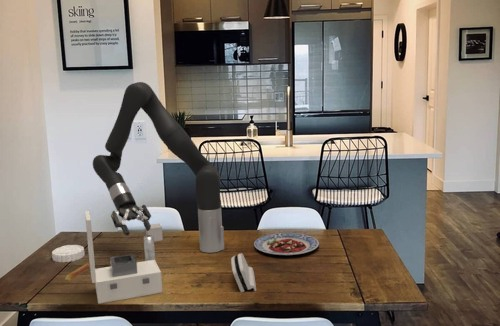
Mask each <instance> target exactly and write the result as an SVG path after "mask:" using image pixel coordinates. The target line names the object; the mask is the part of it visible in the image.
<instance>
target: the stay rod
mask: <svg viewBox="0 0 500 326" xmlns="http://www.w3.org/2000/svg"><path fill="white" fill-rule="evenodd" d="M142 239H143V249H144V250H143V251H144V261H150V260H155V261H156V254H155V241H154V236H153V235H146V234H145V235H144V236H143V237H142Z"/></svg>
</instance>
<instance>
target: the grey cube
mask: <svg viewBox="0 0 500 326" xmlns="http://www.w3.org/2000/svg"><path fill="white" fill-rule="evenodd" d="M150 225H151V227H150V230H149V231H147V230H146V229H145V236H146V235H153V236H154V242H161V241H163V239H164V238H163V227H162V225H161V224H160V223H151V224H150Z"/></svg>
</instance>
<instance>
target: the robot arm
mask: <svg viewBox="0 0 500 326" xmlns="http://www.w3.org/2000/svg"><path fill="white" fill-rule="evenodd" d="M140 110H143V111H144V112H145V114H146V115H147V116H148V118H149V119H150V121H151V122H152V124H153V126H154V127H153V128H154V129H155V131H156V133H157V135H158V137H159V139H160V140H161V141H162V142H163V144H164V145H165V146H166V147H167V149H168V150H170V152H171V153H173V154H174V155H175V157H177V158H178V159H179V160H181V161H182V162H184V163H185V165H187V166H188V168H190V170H191V171H192V172H193V175H194V176H195V183H194V184H195V196H196V198H195V199H196V203H197V204H196V205H197V217H198V233H199V235H198V237H199V238H198V239H199V251H200V252H203V253H210V254H211V253H218V252H220V251H223V250H225V233H224V232H225V231H224V229H225V228H224V226H223V220H222V219H223V218H222V216H223V215H222V200H221V189H220V182H221V174H220V172H219V170H218V169H217V168H216V167H215V165H213V164H212V163H211V162H210V161H209V160H208V159H207V158H206V156H204V155H203V153H201V151H200V150H199V148H198V146H197V145H196V144H195V143H194V141H193V140H192V139H191V137H190V136H189V135H188V133H187V131H185V130H184V128H183V127H182V126H181V125H180V123H178V121H177V120H176V119H175V118H174V117H173V115H172V114H171V113H170V112H169V111H168V110H167V109H166V107H165V106H164V104H163V103H162V101H161V99H159V98H158V96H157V94H156V93H155V91H154V90H153V89H152V87H151V86H150V85H149V84H148V83H146V82H144V81H137V82H134V83H133V82H132V83H130V84H129V85H128V86H127V87H125V90H124V94H123V97H122V101H121V105H120V109H119V112H118V114H117V117H116V120H115V122H114V125H113V127H112V130H111V131H110V133H109V135H108V138H107V139H106V142H105V145H104V147H105V150H106V151H107V152H109V153H110V154H109V155H106V154H98V155H95V157H94V158H93V159H92V167H93V170H94V172H95V174H96V175H97V176H98V177H99V179H101V181H103V183H104V184H105V186H106V188H107V190H108V192H109V196H110V198H111V201H112V202H113V205H114V207H115V209H116V210H113V211H112V212H111V214H110V217H111V220H112V222H113V225H114V227H115V228H117V229H118V228H120V229H121V230H122V233H123V235H125V236H126V237H128V236H130V234H131V232H130V230H129V228H128V225H127V224H126V222H130V221H132V220H133V221H134V220H137V221H140V222H142V223H143V225H144V227H145V231H146V230H147V231H149V230H150V227H151V225H150V219H151V218H152V215H151V212H150V211H149V209H148V207H147V206H146V204H142V206H138V205H137V203H136V202H137V201H136V200H135V198H134V197H133V193H132V192H131V190H130V188H129V186H128V185H127V183H126V181H125V179H124V177H123V175H122V174H121V173H120V172H118V171H119V169H120V168H121V167H120V166H121V164H122V163H121V162H122V158H123V157H122V156H123V150H124V148H125V147H126V144H127V142H128V140H129V138H130V135H131V132H132V126H133V123H134V120H135V118H136V116H137V115H138V113H139V111H140ZM119 217H120V218H122V219H121V221H120V219H119Z"/></svg>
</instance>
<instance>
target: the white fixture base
mask: <svg viewBox="0 0 500 326" xmlns="http://www.w3.org/2000/svg"><path fill="white" fill-rule="evenodd" d="M84 217H85V227H86V239H87V250H88V262H89V266H90V268H89V271H90V276H91V277H90V278H91V283H92V284H95V292H96V293H95V294H96V299H97V304H104V303H105V304H106V303H111V302H115V301H116V302H117V301H122V300H126V299H133V298H140V297H144V296H149V295H150V296H151V295H155V294H161V293H163V286H162V285H163V283H162V281H163V280H162V271H161V270H160V267H159V266H158V264H157V261H156V259H155V260H150V261H145V260H144V261H138V262H137V273H136V274H130V275H123V276H117V277H113V275H112V271H111V266H106V267H99V268H96V266H95V253H94V242H93V230H92V220H91V219H92V218H91V215H90V210H84Z"/></svg>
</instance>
